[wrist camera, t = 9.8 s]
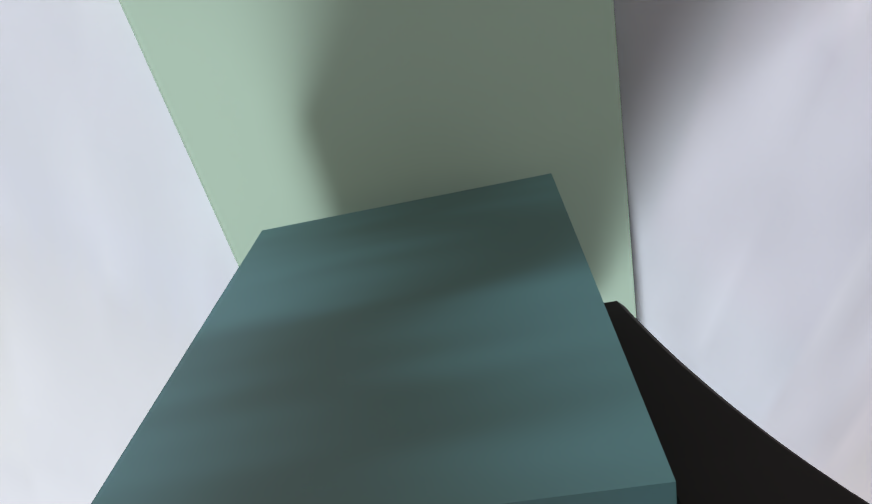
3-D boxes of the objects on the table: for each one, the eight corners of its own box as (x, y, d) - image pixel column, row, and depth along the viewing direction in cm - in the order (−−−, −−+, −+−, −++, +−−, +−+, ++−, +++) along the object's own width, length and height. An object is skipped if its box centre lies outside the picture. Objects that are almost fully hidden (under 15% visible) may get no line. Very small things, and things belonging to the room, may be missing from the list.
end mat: (595, -166, 9) (601, -170, 8) (643, 466, 15) (647, 478, 15) (115, -37, 10) (102, -36, 9) (353, 504, 16) (351, 516, 16)
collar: (551, 173, 9) (676, 481, 4) (582, 400, 12) (687, 778, 7) (262, 230, 10) (56, 559, 5) (346, 434, 12) (269, 805, 7)
